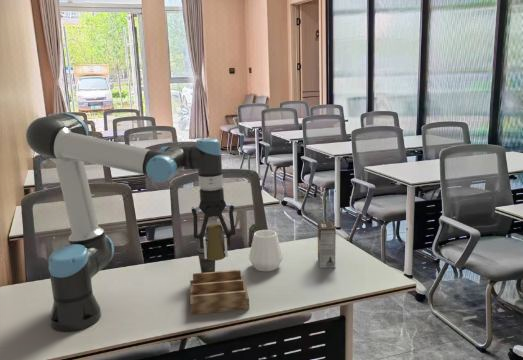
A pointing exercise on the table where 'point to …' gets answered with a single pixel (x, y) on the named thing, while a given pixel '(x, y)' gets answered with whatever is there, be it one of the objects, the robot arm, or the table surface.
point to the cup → (265, 251)
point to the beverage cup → (205, 260)
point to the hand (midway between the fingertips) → (216, 256)
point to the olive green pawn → (215, 242)
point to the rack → (218, 292)
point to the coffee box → (326, 244)
